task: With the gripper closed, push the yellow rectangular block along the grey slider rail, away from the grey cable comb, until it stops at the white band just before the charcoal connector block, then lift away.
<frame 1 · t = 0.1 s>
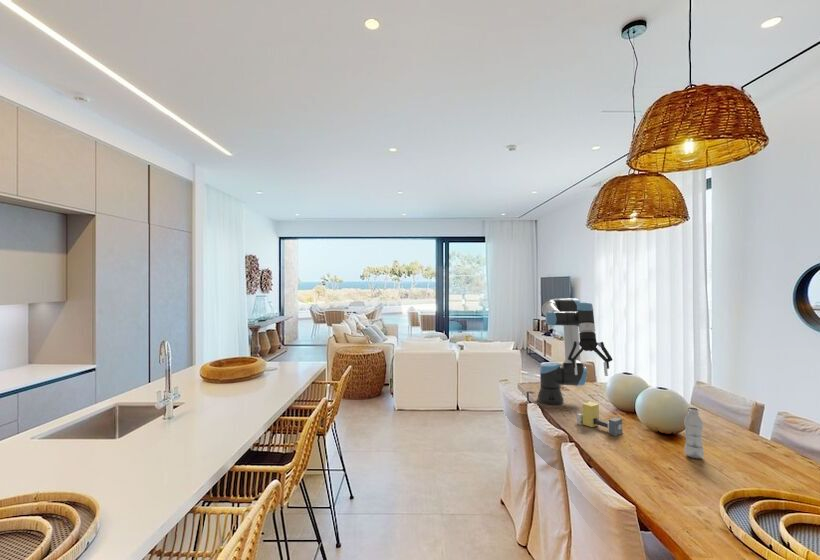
hand: (591, 375, 186), 28 cm above the table, tool tilted 20°, fingers open, 13 cm apart
yellow rectangular block: (590, 414, 194), point 6 cm above the table, slide at 0.0 cm
plastic bottle: (694, 457, 158), on the table
grey slider rail: (599, 428, 191), on the table
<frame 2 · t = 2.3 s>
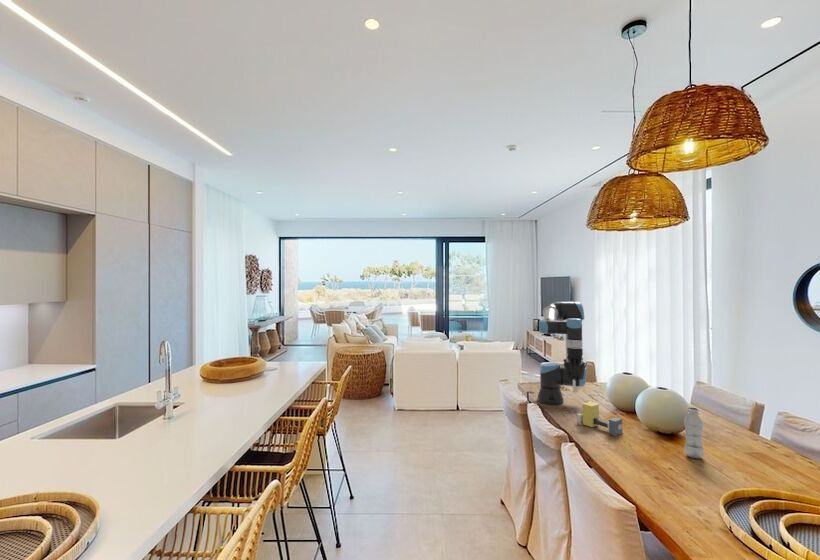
hand: (575, 392, 202), 15 cm above the table, tool pointing down, fingers closed
nothing on the table moved.
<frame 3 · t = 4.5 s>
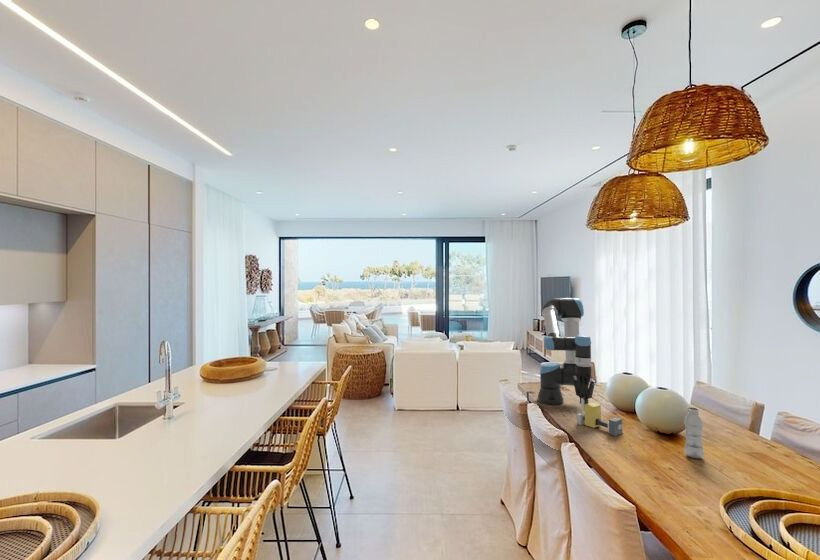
hand: (584, 410, 197), 7 cm above the table, tool pointing down, fingers closed
yellow rectangular block: (592, 414, 194), point 6 cm above the table, slide at 1.1 cm, touching gripper
everything else where it was.
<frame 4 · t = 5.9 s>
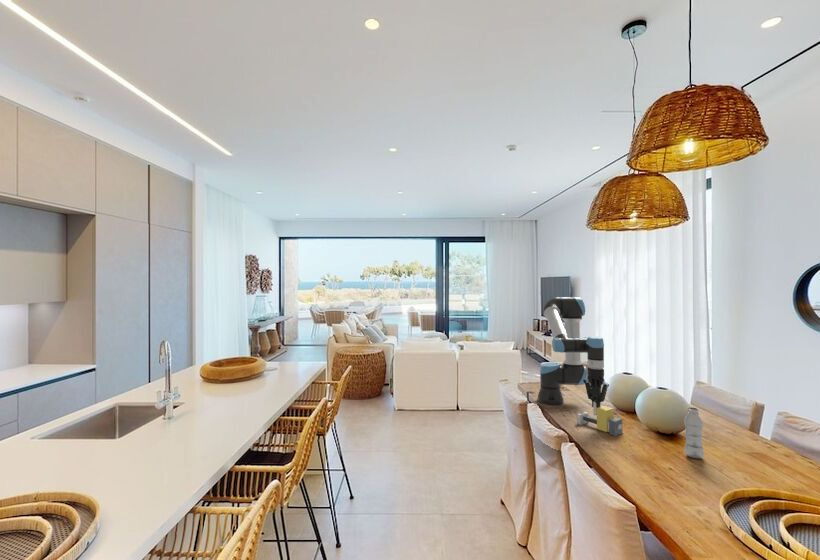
hand: (596, 414, 192), 7 cm above the table, tool pointing down, fingers closed
yellow rectangular block: (605, 418, 188), point 6 cm above the table, slide at 7.8 cm, touching gripper
everything else where it was.
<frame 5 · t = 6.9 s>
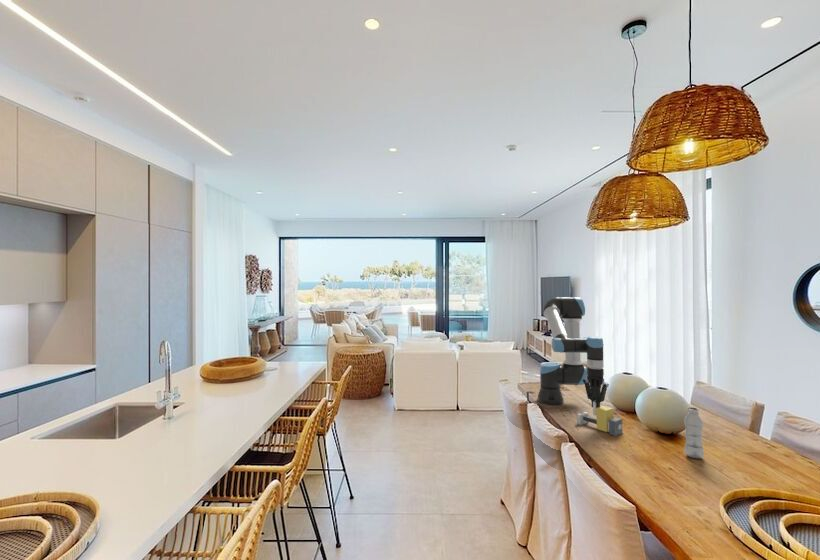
hand: (595, 414, 192), 7 cm above the table, tool pointing down, fingers closed
nothing on the table moved.
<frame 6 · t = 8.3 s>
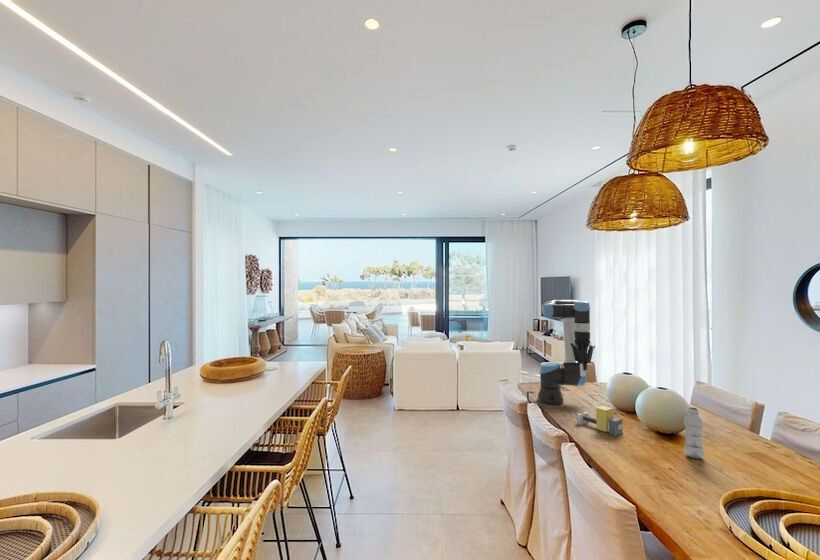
hand: (583, 375, 199), 24 cm above the table, tool pointing down, fingers closed
yellow rectangular block: (604, 418, 188), point 6 cm above the table, slide at 7.5 cm
everything else where it was.
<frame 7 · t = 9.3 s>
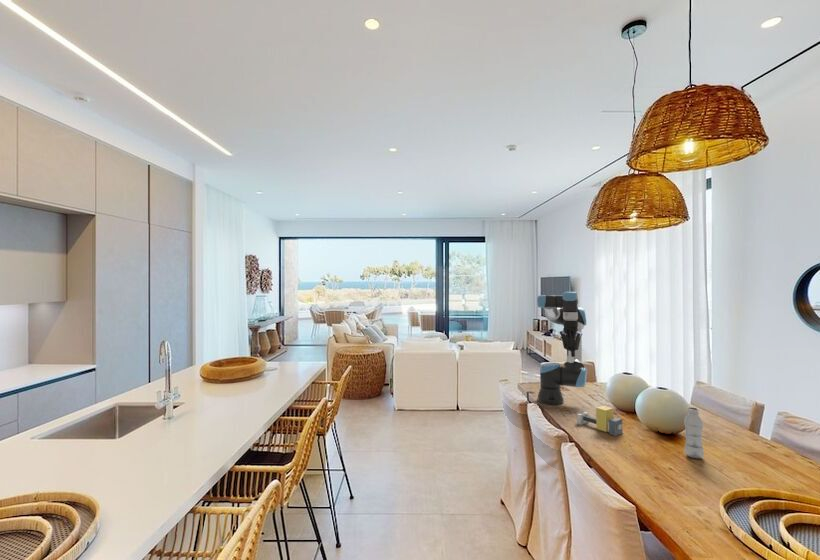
hand: (571, 362, 210), 29 cm above the table, tool pointing down, fingers closed
nothing on the table moved.
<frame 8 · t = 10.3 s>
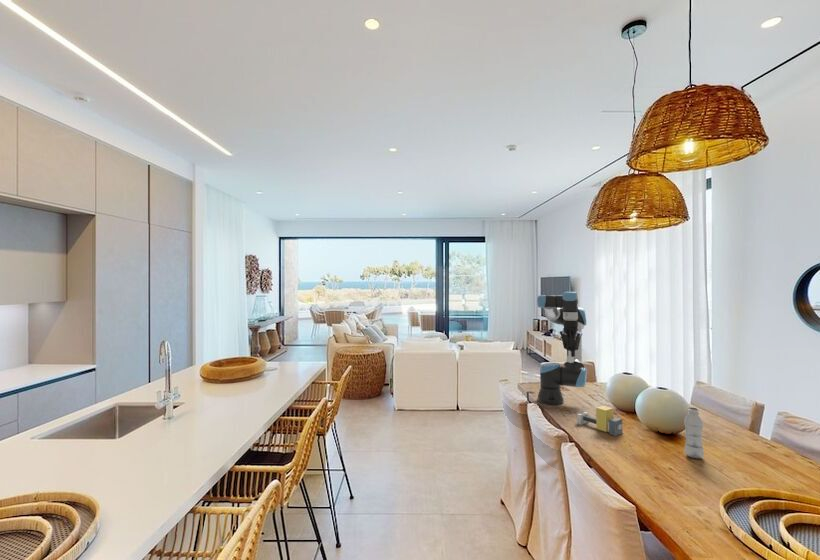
hand: (571, 362, 210), 29 cm above the table, tool pointing down, fingers closed
nothing on the table moved.
at the end: yellow rectangular block slide at 7.5 cm; yellow rectangular block touching nothing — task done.
